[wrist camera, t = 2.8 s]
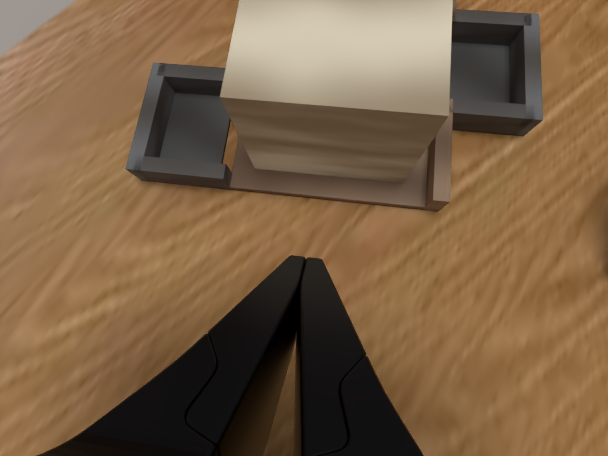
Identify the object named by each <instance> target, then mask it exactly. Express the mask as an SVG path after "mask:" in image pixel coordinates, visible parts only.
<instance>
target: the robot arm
mask: <svg viewBox="0 0 608 456" xmlns="http://www.w3.org/2000/svg"><path fill="white" fill-rule="evenodd" d="M296 335H297V337H296ZM295 340H296V363H295V408H294V452H293V456H424V455H423V453H422V452H421V450H420V449H419V447H418V445H417V444H416V442H415V441H414V439H413V437H412V436H411V434H410V433H409V431H408V429H407V428H406V426H405V425H404V423H403V421H402V420H401V418H400V416H399V415H398V413H397V411H396V410H395V408H394V406H393V405H392V403H391V401H390V399H389V398H388V396H387V394H386V393H385V391H384V389H383V387H382V385H381V383H380V381H379V379H378V377H377V375H376V373H375V371H374V369H373V367H372V365H371V363H370V360H369V358H368V357H367V356H366V352H365V350H364V348H363V346H362V344H361V341H360V339H359V337H358V335H357V333H356V331H355V329H354V327H353V324H352V322H351V320H350V318H349V316H348V314H347V312H346V309H345V307H344V305H343V303H342V301H341V299H340V297H339V294H338V292H337V290H336V288H335V286H334V284H333V282H332V279H331V277H330V275H329V273H328V271H327V269H326V267H325V264H324V262H323V260H322V259H318V258H310V257H308V258H307V259H305V257H302V256H293V255H291V256H289V257H288V258H287V259H286V260H285V261H284V262H283V263H282V264H281V265H279V266H278V267H277V268H276V269H275V270H274V271H273V272H272V273H271V274H270V275H269V276H268V277H267V278H265V279H264V280H263V281H262V282H261V283H260V284H259V285H258V286H257V287H256V288H255V289H254V290H253V291H251V292H250V293H249V294H248V295H247V296H246V297H245V298H244V299H243V300H242V301H241V302H240V303H239V304H237V305H236V306H235V307H234V308H233V309H232V310H231V311H230V312H229V313H228V314H227V315H226V316H224V317H223V318H222V319H221V320H220V321H219V322H218V323H217V324H216V325H215V326H214V327H213V328H212V329H210V330H209V331H208V334H205V335H204V336H203V337H202V338H201V339H199V340H198V341H197V342H196V343H195V344H194V345H193V346H192V347H191V348H190V349H188V350H187V351H186V352H185V353H184V354H183V355H182V356H180V357H179V358H178V359H177V360H176V361H175V362H173V363H172V364H171V365H170V366H168V367H167V368H166V369H165V370H163V371H162V372H161V373H159V374H158V375H157V376H156V377H154V378H153V379H152V380H151V381H149V382H148V383H147V384H145V385H144V386H143V387H141V388H140V389H139V390H137V391H136V392H135V393H133V394H132V395H131V396H129V397H128V398H127V399H125V400H124V401H123V402H121V403H120V404H119V405H118V406H116V407H115V408H114V409H112V410H111V411H110V412H108V413H107V414H106V415H104V416H103V417H102V418H100V419H99V420H98V421H96V422H95V423H94V424H92V425H91V426H90V427H88V428H87V429H85V430H84V431H83V432H81V433H80V434H78V435H76V436H75V437H73V438H72V439H70V440H68V441H66V442H65V443H63V444H61V445H59V446H57V447H55V448H53V449H51V450H49V451H47V452H45V453H42V454H39V455H37V456H263V453H264V450H265V446H266V443H267V439H268V436H269V432H270V429H271V425H272V422H273V418H274V415H275V411H276V408H277V404H278V401H279V397H280V394H281V390H282V387H283V383H284V380H285V376H286V373H287V369H288V366H289V362H290V359H291V355H292V352H293V348H294V344H295Z"/></svg>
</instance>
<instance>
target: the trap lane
mask: <svg viewBox="0 0 608 456" xmlns="http://www.w3.org/2000/svg"><path fill="white" fill-rule="evenodd" d="M225 69H226V68H217V67H204V66H191V65H177V64H164V63H153V65H152V69H151V73H150V77H149V81H148V84H147V88H146V92H145V96H144V100H143V104H142V108H141V111H140V115H139V119H138V123H137V127H136V131H135V134H134V138H133V142H132V146H131V150H130V154H129V158H128V161H127V165H126V170H128V171H129V172H131V173H132V174H134V175H135V176H136V177H138V178H139V179H141V180H145V181H154V182H164V183H173V184H183V185H193V186H202V187H212V188H222V189H231V190H241V191H250V192H260V193H270V194H279V195H289V196H298V197H308V198H318V199H327V200H337V201H347V202H356V203H366V204H375V205H385V206H395V207H404V208H414V209H423V210H433V211H439V210H441V209H442V208H443V207H444V206H446V205H447V204H448V203H449V202H450V188H451V155H452V130H462V131H474V132H485V133H497V134H509V135H520V136H524V135H525V134H527V133H528V132H529V131H530V130H531V129H533V128H534V127H535V126H536V125H537V124H539V123H540V122H541V121H542V120H543V110H542V82H541V54H540V26H539V14H528V13H510V12H493V11H476V10H459V9H456V0H453V6H452V37H451V67H450V97H449V117H448V118H447V119H446V121H445V122H444V124H443V125H442V127H441V128H440V130H439V131H438V133H437V134H436V136H435V137H434V139H433V140H432V142H431V143H430V144H429V146H428V147H427V149H426V150H425V152H424V153H423V155H422V156H421V158H420V159H419V161H418V162H417V164H416V165H415V167H414V168H413V170H412V171H411V172H410V174H409V175H408V177H407V178H406V180H405V181H404V183H396V182H386V181H376V180H366V179H356V178H346V177H336V176H325V175H315V174H305V173H295V172H285V171H275V170H264V169H255V168H254V166H253V164H252V162H251V160H250V158H249V156H248V154H247V152H246V150H245V148H244V146H243V144H242V142H241V140H240V137H239V138H238V144H237V149H236V155H235V160H234V166H233V171H232V172H231V171H230V169H229V168H228V167H227V165H226V164H222V162H223V157H224V151H225V146H226V141H227V136H228V131H229V125H230V120H231V119H230V117H229V115H228V113H227V111H226V109H225V107H224V105H223V103H222V101H221V99H220V93H221V88H222V83H223V79H224V74H225Z"/></svg>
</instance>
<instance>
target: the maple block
mask: <svg viewBox="0 0 608 456" xmlns="http://www.w3.org/2000/svg"><path fill="white" fill-rule="evenodd" d="M452 6H453V0H239V5H238V10H237V15H236V20H235V25H234V29H233V34H232V39H231V44H230V49H229V54H228V59H227V64H226V69H225V74H224V79H223V83H222V88H221V93H220V99H221V101H222V103H223V105H224V107H225V109H226V111H227V113H228V115H229V117H230V119H231V121H232V123H233V125H234V127H235V129H236V131H237V133H238V135H239V137H240V140H241V142H242V144H243V146H244V148H245V150H246V152H247V154H248V156H249V158H250V160H251V162H252V164H253V166H254V168H255V169H264V170H275V171H285V172H295V173H305V174H315V175H325V176H336V177H346V178H356V179H366V180H376V181H386V182H396V183H404V181H405V180H406V178H407V177H408V175H409V174H410V172H411V171H412V170H413V168H414V167H415V165H416V164H417V162H418V161H419V159H420V158H421V156H422V155H423V153H424V152H425V150H426V149H427V147H428V146H429V144H430V143H431V142H432V140H433V139H434V137H435V136H436V134H437V133H438V131H439V130H440V128H441V127H442V125H443V124H444V122H445V121H446V119H447V118H448V117H449V97H450V67H451V37H452Z"/></svg>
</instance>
